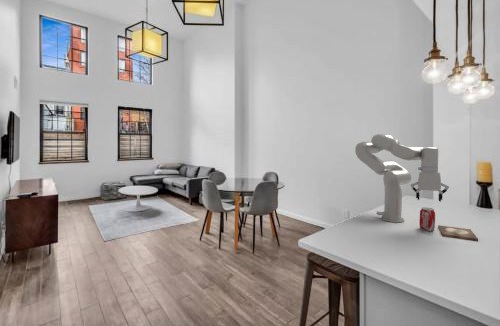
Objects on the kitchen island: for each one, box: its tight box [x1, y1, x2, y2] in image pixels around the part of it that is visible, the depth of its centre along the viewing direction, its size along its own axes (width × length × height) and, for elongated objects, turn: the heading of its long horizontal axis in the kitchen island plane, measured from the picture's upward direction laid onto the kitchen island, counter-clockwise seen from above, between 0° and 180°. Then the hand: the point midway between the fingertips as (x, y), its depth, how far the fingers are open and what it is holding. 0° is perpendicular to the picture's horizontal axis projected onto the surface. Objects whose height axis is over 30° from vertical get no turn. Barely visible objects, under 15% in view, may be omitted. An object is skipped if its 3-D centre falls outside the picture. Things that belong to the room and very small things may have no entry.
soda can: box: [419, 206, 436, 232], centre depth 138 cm, size 7×7×12 cm
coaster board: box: [437, 224, 479, 242], centre depth 132 cm, size 14×16×1 cm
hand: (428, 200), depth 137 cm, fingers open, 9 cm apart
